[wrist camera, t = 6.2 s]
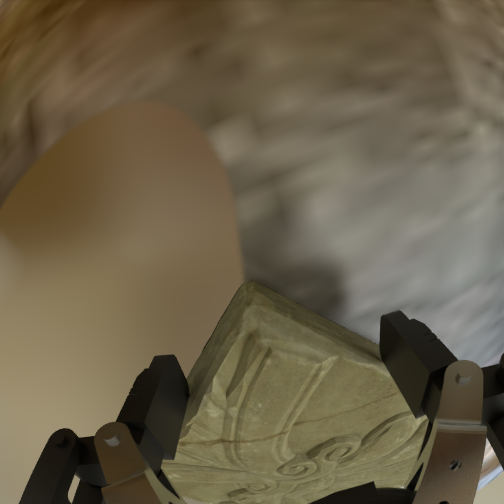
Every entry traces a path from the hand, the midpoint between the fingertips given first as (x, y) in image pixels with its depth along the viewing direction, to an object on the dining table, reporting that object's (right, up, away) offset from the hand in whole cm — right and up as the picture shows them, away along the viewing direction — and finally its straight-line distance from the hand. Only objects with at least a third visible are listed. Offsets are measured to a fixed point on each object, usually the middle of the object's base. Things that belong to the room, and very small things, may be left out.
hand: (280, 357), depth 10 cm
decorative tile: (+3, -9, +5) cm, 11 cm away
